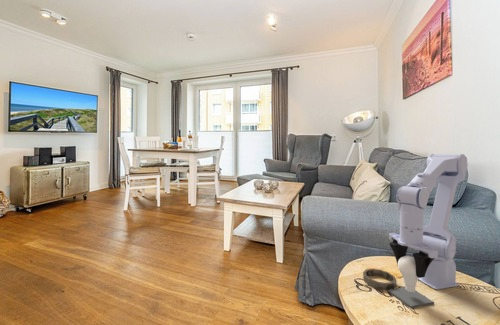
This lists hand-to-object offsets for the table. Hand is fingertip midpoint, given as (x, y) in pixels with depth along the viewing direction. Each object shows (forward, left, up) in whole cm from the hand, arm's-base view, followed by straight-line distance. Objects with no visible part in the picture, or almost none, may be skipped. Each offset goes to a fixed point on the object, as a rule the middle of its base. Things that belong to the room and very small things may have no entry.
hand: (410, 271), depth 70 cm
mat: (0, 0, -8) cm, 8 cm away
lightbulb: (0, 0, -7) cm, 7 cm away
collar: (+2, -10, -8) cm, 13 cm away
